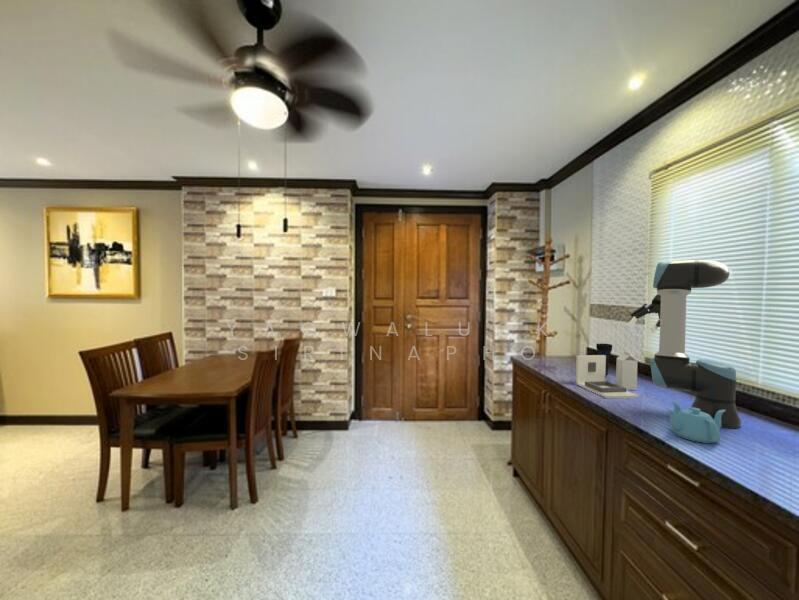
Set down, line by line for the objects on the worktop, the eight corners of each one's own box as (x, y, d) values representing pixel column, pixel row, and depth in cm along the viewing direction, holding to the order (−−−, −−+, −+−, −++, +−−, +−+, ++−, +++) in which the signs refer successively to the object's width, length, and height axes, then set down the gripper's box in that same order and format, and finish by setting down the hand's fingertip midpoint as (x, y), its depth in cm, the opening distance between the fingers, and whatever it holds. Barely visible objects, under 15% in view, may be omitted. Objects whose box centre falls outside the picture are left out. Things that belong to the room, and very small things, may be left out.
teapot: (720, 451, 112) (721, 419, 111) (662, 436, 123) (663, 407, 122) (724, 438, 122) (725, 409, 121) (670, 425, 133) (671, 398, 132)
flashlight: (594, 378, 203) (595, 344, 202) (597, 375, 209) (597, 342, 208) (609, 380, 198) (610, 345, 197) (612, 378, 204) (613, 344, 203)
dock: (637, 397, 167) (638, 364, 166) (606, 398, 165) (607, 365, 164) (603, 384, 190) (603, 355, 190) (575, 384, 189) (576, 355, 188)
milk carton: (621, 389, 180) (622, 353, 180) (615, 385, 187) (616, 350, 187) (636, 390, 179) (637, 353, 179) (630, 386, 186) (631, 351, 186)
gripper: (691, 305, 175) (667, 337, 172) (645, 302, 199) (623, 329, 196) (683, 295, 173) (658, 327, 170) (638, 293, 197) (615, 321, 195)
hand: (639, 328), depth 183 cm, fingers open, 13 cm apart
